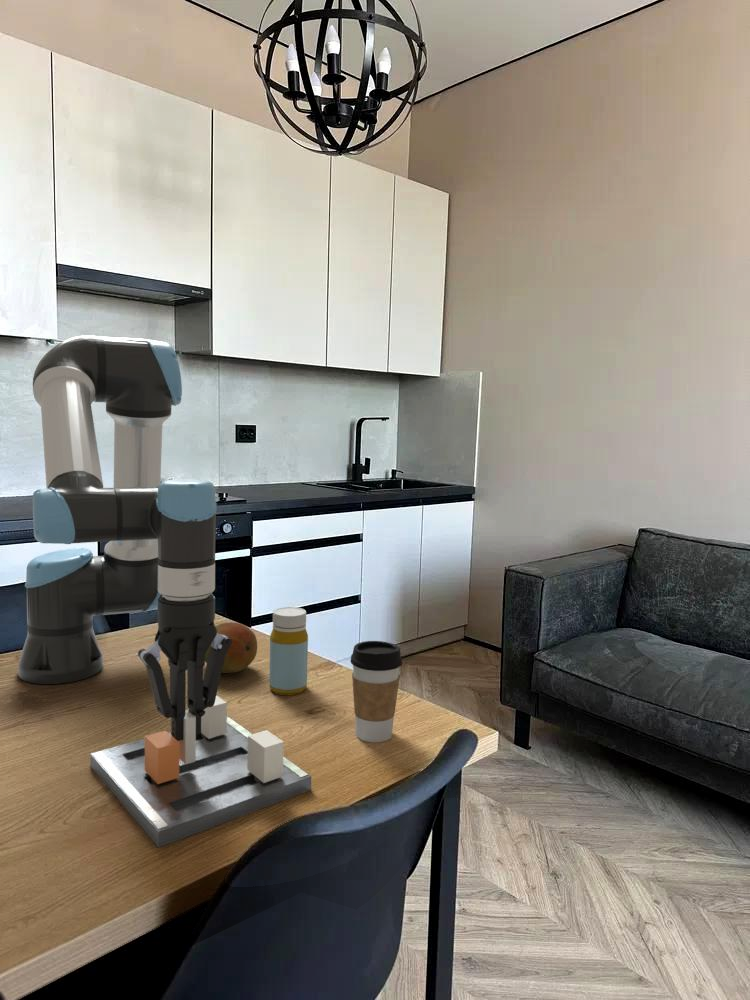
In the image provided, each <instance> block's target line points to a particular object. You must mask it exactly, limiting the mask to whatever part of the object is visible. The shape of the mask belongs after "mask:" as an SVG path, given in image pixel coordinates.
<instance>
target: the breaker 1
mask: <svg viewBox="0 0 750 1000" xmlns="http://www.w3.org/2000/svg"><path fill="white" fill-rule="evenodd" d="M204 711H205V714H204V715H203V716H202V717H201V733H202V736H201V737H202V738H204V739H205V738H208V739H210V738H213V737H216V736H220V735H223V734H227V716H228V713H227V712H228V703H227V701H226V700H224V699H223V698H221V697H220V696H218V695H216V699H215V703H214V705H213V706H212V707H207V708H206V709H204Z"/></svg>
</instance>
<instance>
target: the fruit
mask: <svg viewBox="0 0 750 1000" xmlns="http://www.w3.org/2000/svg"><path fill="white" fill-rule="evenodd" d="M215 627H216V629H217V633H218V634H223V635H225V636H226V637H228V638H230V639H231V640H232V644H231V646H230V648H229V650H228V651H227V653H226V655H225V659H224V664H223V668H222V673H223V674H233V673H238V672H241V671H243V670H245V669H246V668H247V667H249V666H250V665H251V664H252V662H253V661H254V660H255V658H256V657H257V654H258V653H257V652H258V640H257V637H256V635H255V633H254V632H253V630H252V629H251V628H249V627H248V626H247V625H245V624H243V623H240V622H235V621H234V622H231V621H230V622H224V623H219V624H217V625H215ZM210 649H211V645H210V647H209V648H208V650H207V652H206V653H205V663H206V664H207V661H208V656H209V652H210ZM222 673H221V674H222Z"/></svg>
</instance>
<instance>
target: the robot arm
mask: <svg viewBox="0 0 750 1000" xmlns="http://www.w3.org/2000/svg"><path fill="white" fill-rule="evenodd" d="M32 377H33V378H32V394H33V397H34V400H35V401H36V404H38V405H39V407H40V412H41V426H42V427H41V428H42V439H43V440H42V441H43V454H44V455H43V456H44V468H45V469H44V471H45V486H46V487H45V488H40V489H36V490H35V491H34V492H33V494H32V520H33V524H32V525H33V536H34V539H35V540H36V541H37V543H40V544H60V545H61V544H63V545H71V544H85V543H100V542H107V543H106V544H105V546H104V550H103V552H104V553H103V554H104V555H97V556H95V555H93V552H92V551H91V549H89V548H84V547H82V548H81V547H80V548H67V549H60V550H55V551H50V552H46V553H43V554H40V555H38V556H35V557H33V559H31V560H30V561H29V562H28V564H27V565H26V572H25V573H26V576H25V577H26V580H25V583H24V587H25V588H26V618H27V619H26V622H27V624H26V625H27V635H26V639H25V641H24V644H23V648H22V651H21V654H20V658H19V660H18V664H17V670H18V671H17V673H18V674H17V675H18V677H19V679H20V680H22V681H24V682H26V683H31V684H39V685H57V684H58V685H59V684H66V683H72V682H77V681H81V680H84V679H87V678H89V677H92V676H95V675H96V674H98V673H99V672H100V671H101V670H102V669H103V667H104V657H103V652H102V650H101V646H100V645H99V642H98V639H97V636H96V633H95V631H94V627H93V625H94V624H93V623H94V622H93V621H94V617H95V616H106V615H107V616H108V615H118V614H130V613H140V612H141V613H146V612H148V611H156V610H157V626H158V628H157V632H156V634H155V637H154V642H153V643H152V644H151V645H150V646H148V647H147V648H141V649H139V650H138V652H137V656H138V658H139V659H140V660H141V661H142V663H144V665H145V668H146V672H147V675H148V676H147V677H148V680H149V684H150V687H151V691H152V695H153V697H154V702H155V706H156V710H157V712H158V713H159V714H160V715H161V716H163V717H164V718H166V719H171V720H170V721H171V722H170V724H171V725H170V728H171V730H170V731H171V735H172V736H173V737H174V738H175V739H176V740H177V741H178V742H179V759H180V760H181V761H182V762H183V763H184V764H185V765H186V764H189V763H192V762H195V761H196V736H197V735H200V733H201V717H202V716H203V715H204V714H205V711H204V709H206V708H207V707H212V706H213V705H214V703H215V699H216V695H217V694H218V691H219V686H220V681H221V677H222V668H223V664H224V659H225V655H226V653H227V651H228V650H229V648H230V646H231V644H232V640H231V639H230V638H228V637H226V636H225V635H223V634H218V633H217V629H216V627H215V626H216V625H215V622H214V621H215V619H216V596H215V595H214V594H213V592H214V591H215V589H216V521H217V519H216V517H217V515H216V514H217V511H218V504H217V500H216V498H217V497H216V487H215V484H213V483H212V482H211V481H210V480H206V479H199V478H173V479H172V478H171V479H170V478H169V479H165V480H162V481H161V472H162V471H161V470H162V451H163V450H162V449H163V424H164V422H165V421H167V420H168V419H170V417H171V416H172V406H174V407H176V406H178V405H180V404H181V402H182V395H183V385H182V384H183V383H182V375H181V370H180V363H179V359H178V356H177V353H176V351H175V349H174V347H173V346H172V345H171V344H170V343H168V342H165V341H159V340H153V339H148V338H134V337H133V338H131V337H117V336H116V337H114V336H113V337H111V336H99V335H98V336H96V335H87V334H86V335H85V334H84V335H78V336H77V335H76V336H73V337H71V338H67V339H64V340H62V341H61V342H59V343H57V344H56V345H55V346H54V347H52V348H51V349H49V350H48V351H47V352H46V353H45V354H44V355H43V356H42V358H41V359H40V361H39V362H38V364H37V366H36V367H35V370H34V373H33V376H32ZM93 402H95V403H105V413H106V414H107V415H108V416H110V418H111V419H112V420H113V422H114V425H113V426H114V427H113V428H114V429H113V430H114V439H113V440H114V441H113V442H114V443H113V446H114V447H113V487H104V482H103V476H102V470H101V469H102V468H101V463H100V457H99V451H98V449H99V448H98V442H97V438H96V429H95V423H94V417H93V411H92V410H93V409H92V403H93ZM210 645H211V649H210V652H209V656H208V661H207V663H206V662H205V653H206V652H207V650H208V648H209V647H210ZM161 652H162V653H163V654H164V655H165V657H167V663H168V667H169V692H168V688H167V683H166V681H165V679H166V678H165V676H164V675H165V674H164V672H163V669H162V668H163V667H162V666H161V664H160V661H161V660H162V659H161ZM205 663H206V664H205ZM205 665H206V667H205ZM204 667H205V669H204ZM186 673H187V674H186ZM186 676H187V677H186ZM186 680H187V681H186ZM186 685H187V686H186ZM186 689H187V690H186ZM217 696H218V695H217ZM186 697H187V698H186ZM186 699H187V700H186ZM186 703H187V704H186ZM186 705H187V707H186ZM186 708H188V709H186Z"/></svg>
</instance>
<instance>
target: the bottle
mask: <svg viewBox="0 0 750 1000" xmlns="http://www.w3.org/2000/svg"><path fill="white" fill-rule="evenodd" d="M306 627H307V611H306V610H305V609H304V608H301V607H297V606H296V607H295V606H284V607H283V606H282V607H278V608H276V609H274V610H273V611H272V631H271V633H270V634H269V635H270V636H269V637H270V639H269V676H268V677H269V678H268V680H269V682H268V683H269V685H268V686H269V688H270V690H271V691H272V692H273V693H275V694H277V695H282V696H293V695H295V696H296V695H298V694H300V693H302V692H304V690H306V689H307V686H308V660H309V659H308V658H309V657H308V655H309V653H308V651H309V650H308V649H309V648H308V647H309V634H308V631H307V628H306Z"/></svg>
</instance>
